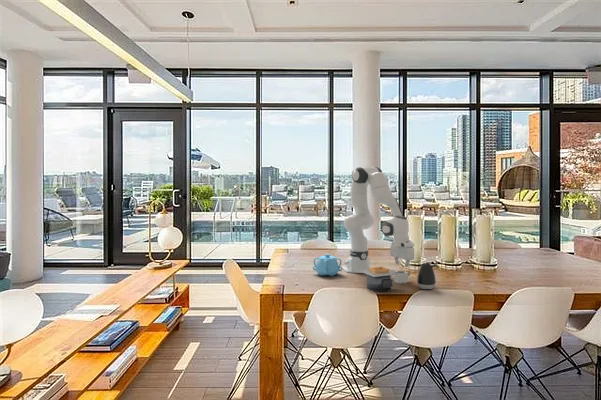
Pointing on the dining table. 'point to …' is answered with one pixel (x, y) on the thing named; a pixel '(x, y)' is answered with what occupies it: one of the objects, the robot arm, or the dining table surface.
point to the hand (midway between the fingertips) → (402, 265)
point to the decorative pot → (327, 265)
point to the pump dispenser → (426, 276)
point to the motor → (379, 280)
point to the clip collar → (378, 269)
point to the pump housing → (402, 277)
